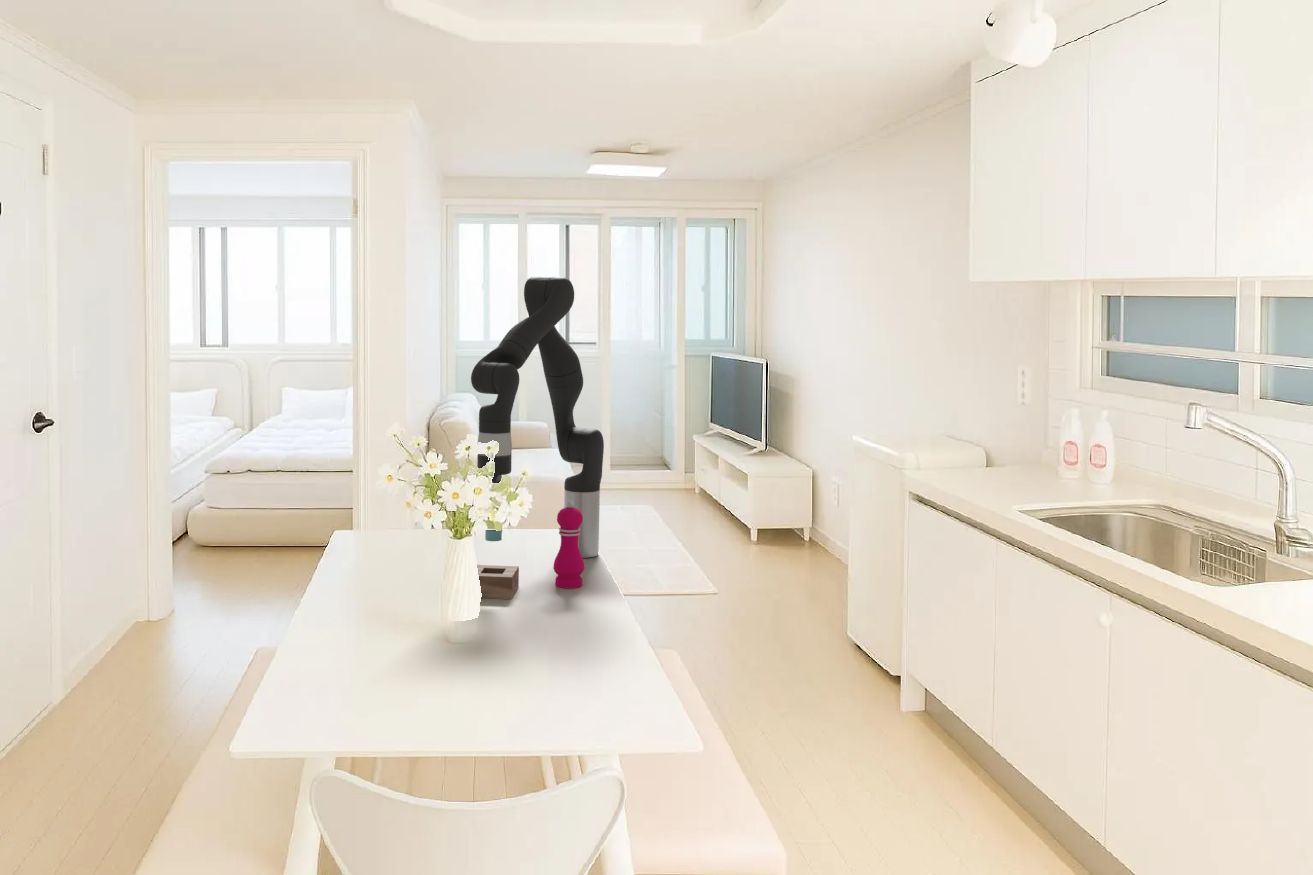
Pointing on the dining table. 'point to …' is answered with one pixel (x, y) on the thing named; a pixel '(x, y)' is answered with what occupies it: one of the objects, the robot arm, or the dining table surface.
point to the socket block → (498, 581)
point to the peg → (493, 535)
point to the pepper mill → (569, 548)
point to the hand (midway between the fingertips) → (493, 527)
